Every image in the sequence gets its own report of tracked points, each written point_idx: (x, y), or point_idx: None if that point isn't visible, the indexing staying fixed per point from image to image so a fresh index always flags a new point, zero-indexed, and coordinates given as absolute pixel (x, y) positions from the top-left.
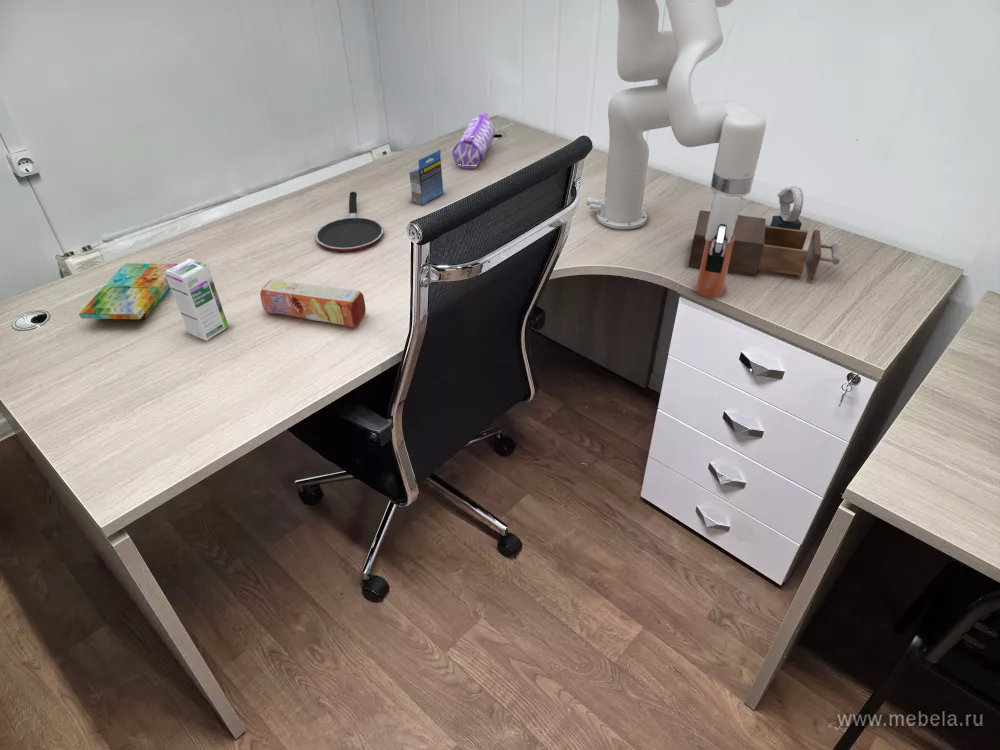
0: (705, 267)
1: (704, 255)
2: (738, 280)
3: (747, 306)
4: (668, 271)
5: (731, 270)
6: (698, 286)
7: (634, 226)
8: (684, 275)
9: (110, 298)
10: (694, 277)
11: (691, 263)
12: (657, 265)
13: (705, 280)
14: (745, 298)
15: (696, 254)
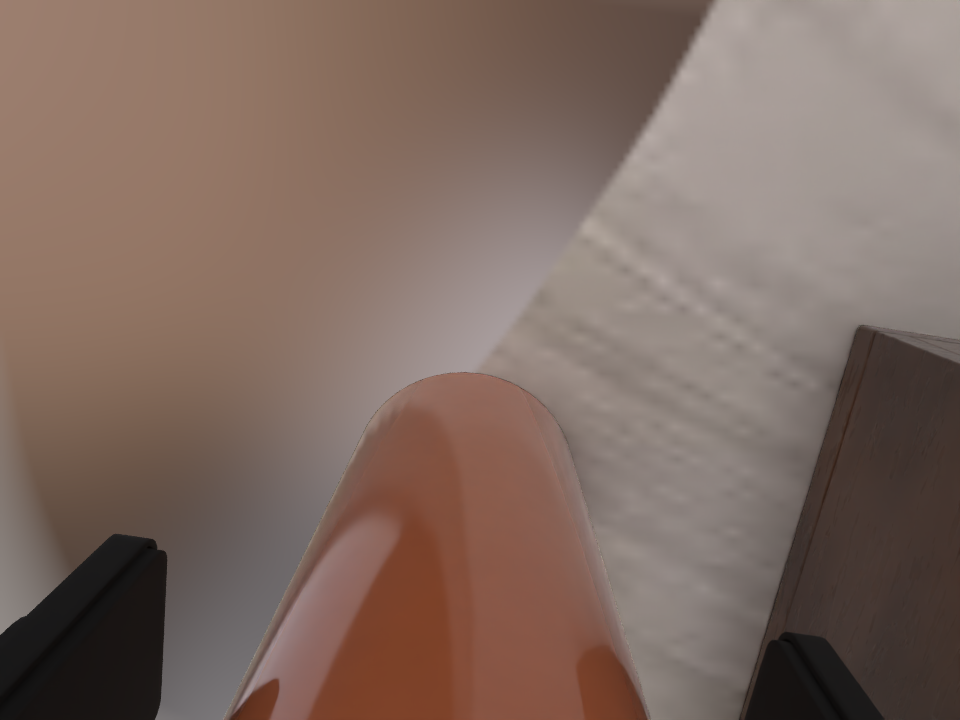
0: (92, 554)
1: (359, 578)
2: (652, 693)
3: None
4: (769, 131)
5: None
6: (413, 398)
7: None
8: (701, 284)
9: None
10: (672, 370)
11: (872, 357)
12: (888, 15)
13: (342, 480)
14: None
15: (927, 421)
